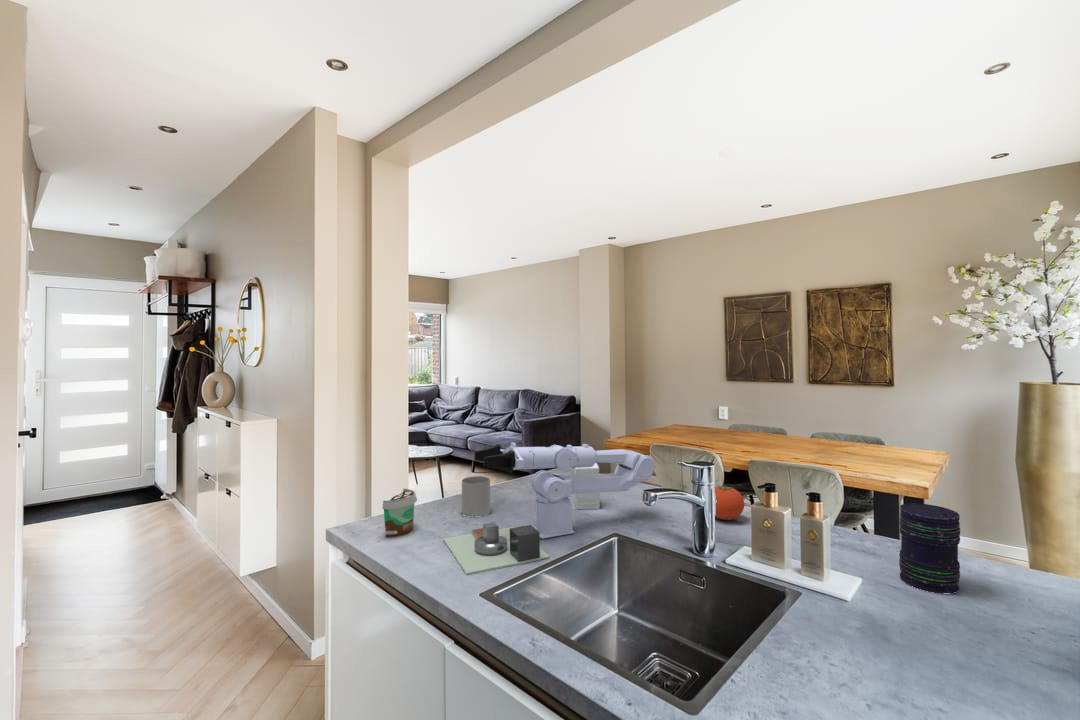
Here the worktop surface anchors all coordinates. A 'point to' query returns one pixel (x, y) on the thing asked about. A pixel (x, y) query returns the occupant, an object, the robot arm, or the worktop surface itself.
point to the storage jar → (929, 547)
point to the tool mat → (477, 563)
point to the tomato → (728, 503)
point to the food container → (399, 513)
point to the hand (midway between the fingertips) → (479, 458)
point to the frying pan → (489, 540)
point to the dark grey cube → (524, 543)
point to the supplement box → (587, 498)
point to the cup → (476, 496)
